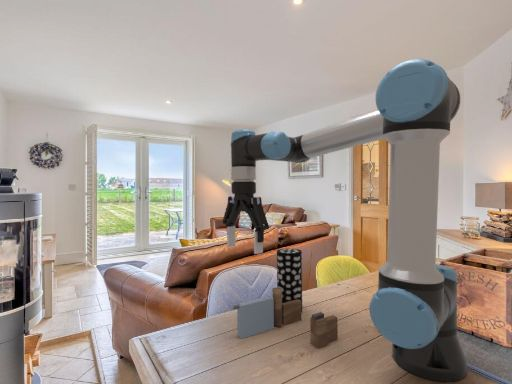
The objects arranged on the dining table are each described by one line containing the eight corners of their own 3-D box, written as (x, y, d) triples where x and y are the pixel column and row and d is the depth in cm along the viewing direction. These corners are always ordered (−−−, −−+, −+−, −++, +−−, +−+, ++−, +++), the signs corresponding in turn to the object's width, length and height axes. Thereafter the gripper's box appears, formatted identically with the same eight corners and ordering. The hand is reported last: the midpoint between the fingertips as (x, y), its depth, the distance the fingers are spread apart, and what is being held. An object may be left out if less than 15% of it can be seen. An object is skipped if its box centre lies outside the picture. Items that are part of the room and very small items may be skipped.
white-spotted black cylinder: (301, 316, 96) (301, 254, 96) (275, 314, 97) (275, 253, 97) (302, 306, 104) (302, 248, 104) (279, 304, 106) (278, 248, 105)
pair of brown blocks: (339, 340, 81) (339, 299, 80) (309, 351, 75) (309, 308, 75) (298, 316, 95) (298, 282, 95) (271, 325, 90) (270, 288, 90)
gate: (270, 326, 89) (269, 296, 89) (273, 328, 88) (273, 298, 88) (232, 337, 83) (232, 304, 83) (236, 340, 81) (235, 307, 81)
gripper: (280, 180, 85) (281, 254, 86) (230, 181, 104) (230, 242, 105) (261, 180, 80) (261, 258, 81) (211, 181, 99) (212, 245, 100)
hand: (244, 249), depth 93 cm, fingers open, 13 cm apart
